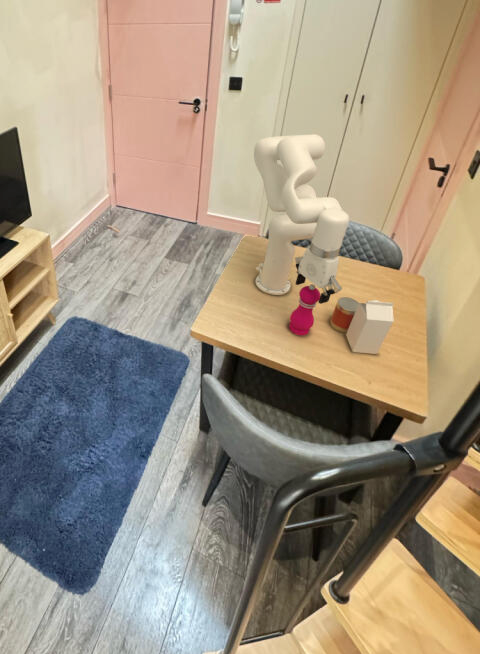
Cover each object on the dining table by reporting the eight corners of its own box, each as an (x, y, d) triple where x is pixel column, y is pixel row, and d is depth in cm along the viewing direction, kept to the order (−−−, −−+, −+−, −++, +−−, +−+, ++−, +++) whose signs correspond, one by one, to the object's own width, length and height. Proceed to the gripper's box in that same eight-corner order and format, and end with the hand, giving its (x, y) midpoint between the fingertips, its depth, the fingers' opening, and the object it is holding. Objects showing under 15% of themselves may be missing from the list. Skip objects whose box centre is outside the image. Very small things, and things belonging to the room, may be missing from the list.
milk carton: (377, 354, 126) (398, 311, 115) (352, 352, 128) (371, 309, 117) (369, 337, 132) (389, 295, 121) (345, 335, 133) (363, 293, 123)
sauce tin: (325, 321, 139) (332, 300, 133) (340, 315, 141) (348, 294, 135) (340, 334, 134) (349, 313, 128) (356, 328, 135) (365, 307, 130)
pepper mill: (283, 322, 140) (295, 278, 128) (303, 320, 140) (317, 276, 129) (293, 338, 134) (307, 294, 123) (314, 335, 134) (330, 291, 123)
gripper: (292, 237, 123) (282, 279, 133) (338, 268, 110) (322, 313, 119) (312, 231, 125) (300, 274, 135) (359, 261, 111) (342, 306, 121)
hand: (311, 292), depth 127 cm, fingers open, 9 cm apart
